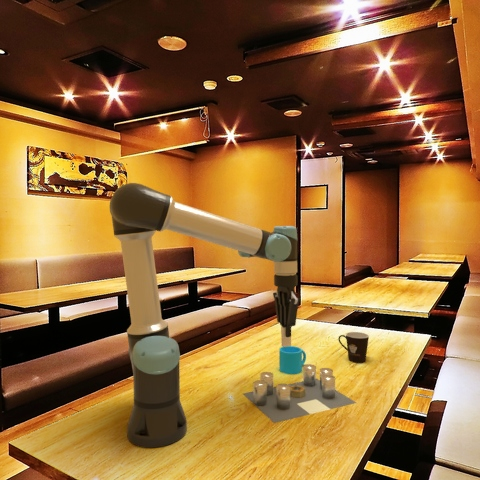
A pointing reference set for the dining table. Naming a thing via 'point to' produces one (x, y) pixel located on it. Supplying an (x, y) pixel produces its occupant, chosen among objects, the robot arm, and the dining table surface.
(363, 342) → the coffee mug
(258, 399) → the spacers
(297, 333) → the dining table surface
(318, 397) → the mat
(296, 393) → the nut
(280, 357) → the mug
